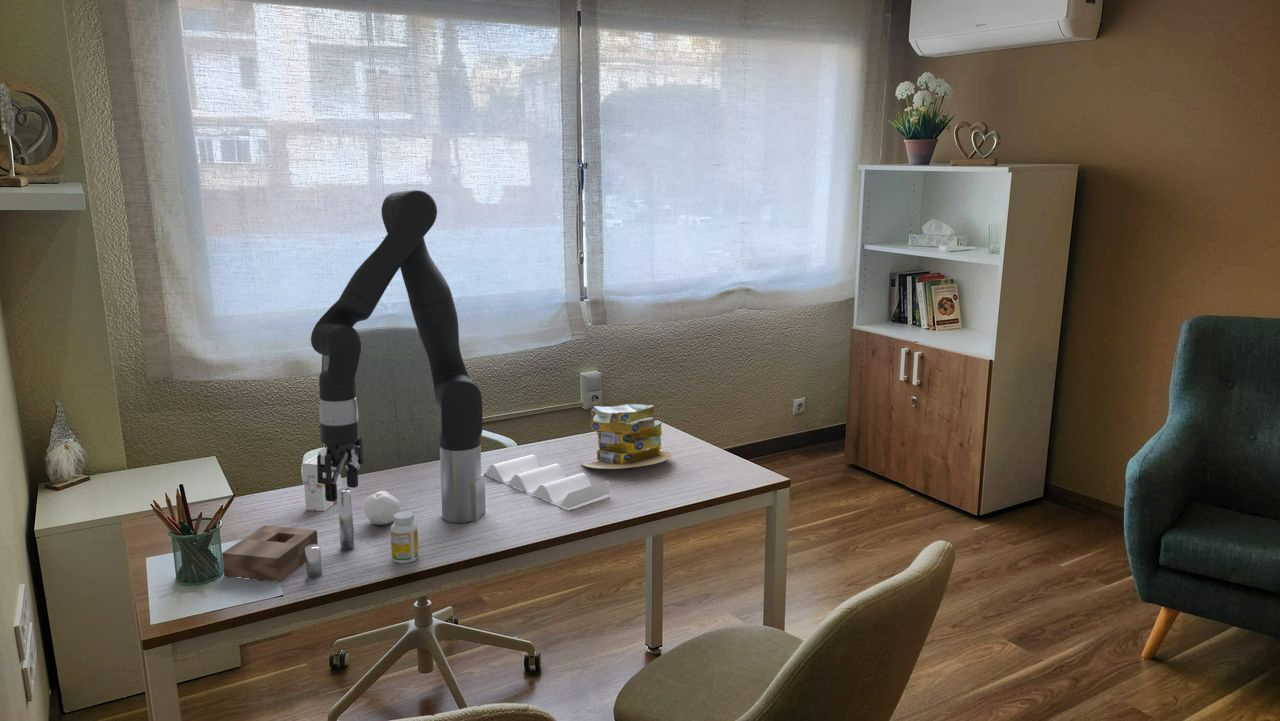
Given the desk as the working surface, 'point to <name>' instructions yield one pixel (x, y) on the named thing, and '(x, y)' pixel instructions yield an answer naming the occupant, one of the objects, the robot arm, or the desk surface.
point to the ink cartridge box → (316, 485)
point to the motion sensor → (381, 507)
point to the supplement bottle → (404, 538)
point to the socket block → (268, 553)
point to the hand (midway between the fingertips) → (342, 493)
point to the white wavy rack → (547, 481)
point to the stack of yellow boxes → (627, 437)
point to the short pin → (313, 561)
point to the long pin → (345, 519)
